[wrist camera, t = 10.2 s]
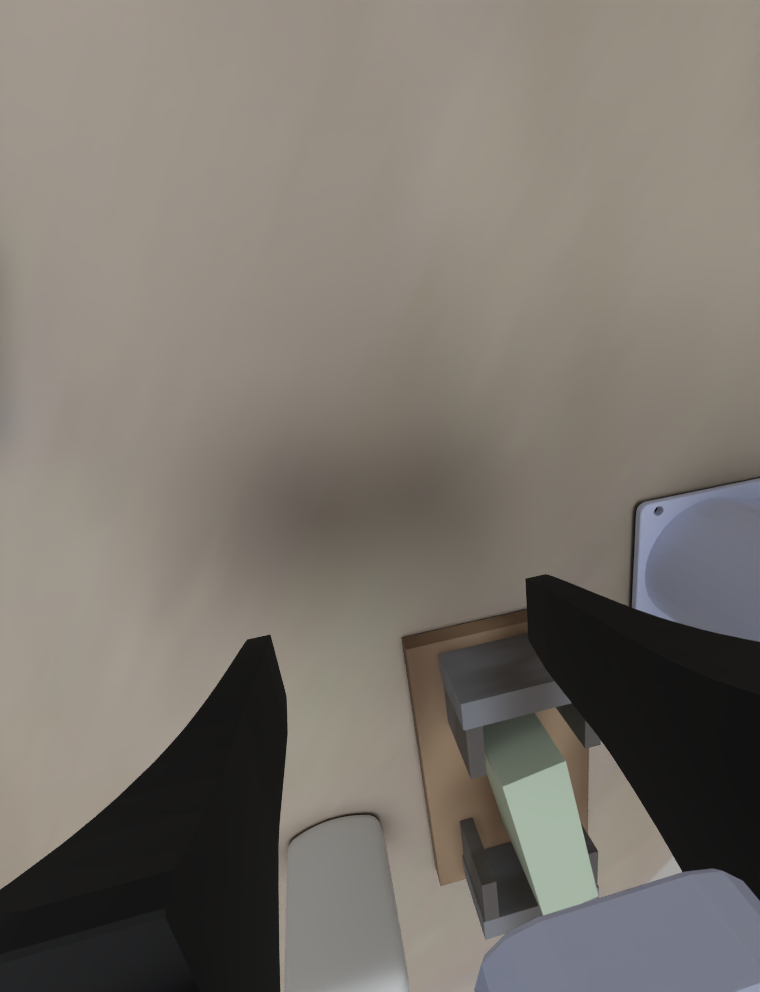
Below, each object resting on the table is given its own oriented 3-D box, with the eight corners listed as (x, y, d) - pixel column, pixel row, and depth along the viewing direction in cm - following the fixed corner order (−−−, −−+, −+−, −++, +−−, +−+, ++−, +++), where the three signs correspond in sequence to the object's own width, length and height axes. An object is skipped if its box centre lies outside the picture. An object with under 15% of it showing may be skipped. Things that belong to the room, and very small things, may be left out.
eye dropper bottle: (369, 865, 28) (416, 1205, 17) (280, 862, 27) (267, 1227, 16) (390, 813, 27) (455, 1138, 16) (299, 806, 26) (298, 1156, 15)
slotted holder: (579, 597, 25) (636, 648, 21) (578, 827, 31) (623, 904, 26) (401, 637, 24) (423, 700, 19) (436, 869, 29) (459, 956, 25)
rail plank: (514, 682, 24) (565, 760, 20) (547, 804, 28) (598, 896, 23) (463, 702, 24) (502, 786, 20) (503, 823, 28) (544, 919, 23)
